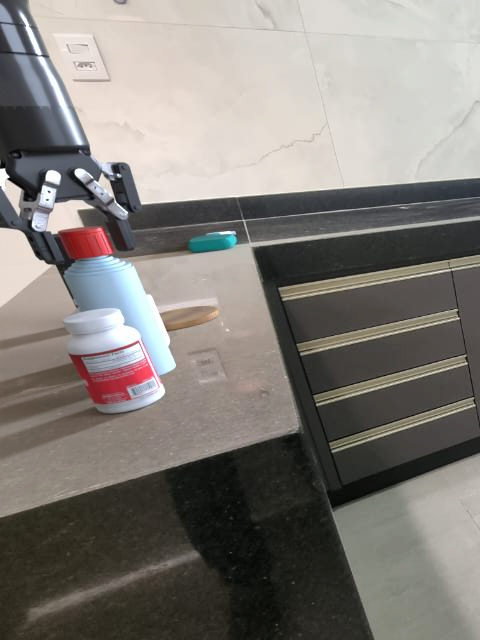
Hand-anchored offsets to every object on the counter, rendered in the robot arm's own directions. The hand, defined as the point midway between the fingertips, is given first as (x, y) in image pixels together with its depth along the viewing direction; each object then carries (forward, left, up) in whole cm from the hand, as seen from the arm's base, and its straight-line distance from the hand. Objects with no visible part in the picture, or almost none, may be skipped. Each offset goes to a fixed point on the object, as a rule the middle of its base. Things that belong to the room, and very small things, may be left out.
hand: (92, 256), depth 64 cm
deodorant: (-20, +29, -16) cm, 39 cm away
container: (-6, +8, -16) cm, 19 cm away
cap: (0, +1, 0) cm, 1 cm away
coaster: (-7, +25, -16) cm, 30 cm away
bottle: (0, +1, -16) cm, 16 cm away
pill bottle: (+3, -9, -16) cm, 19 cm away
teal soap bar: (-34, +105, -16) cm, 111 cm away
